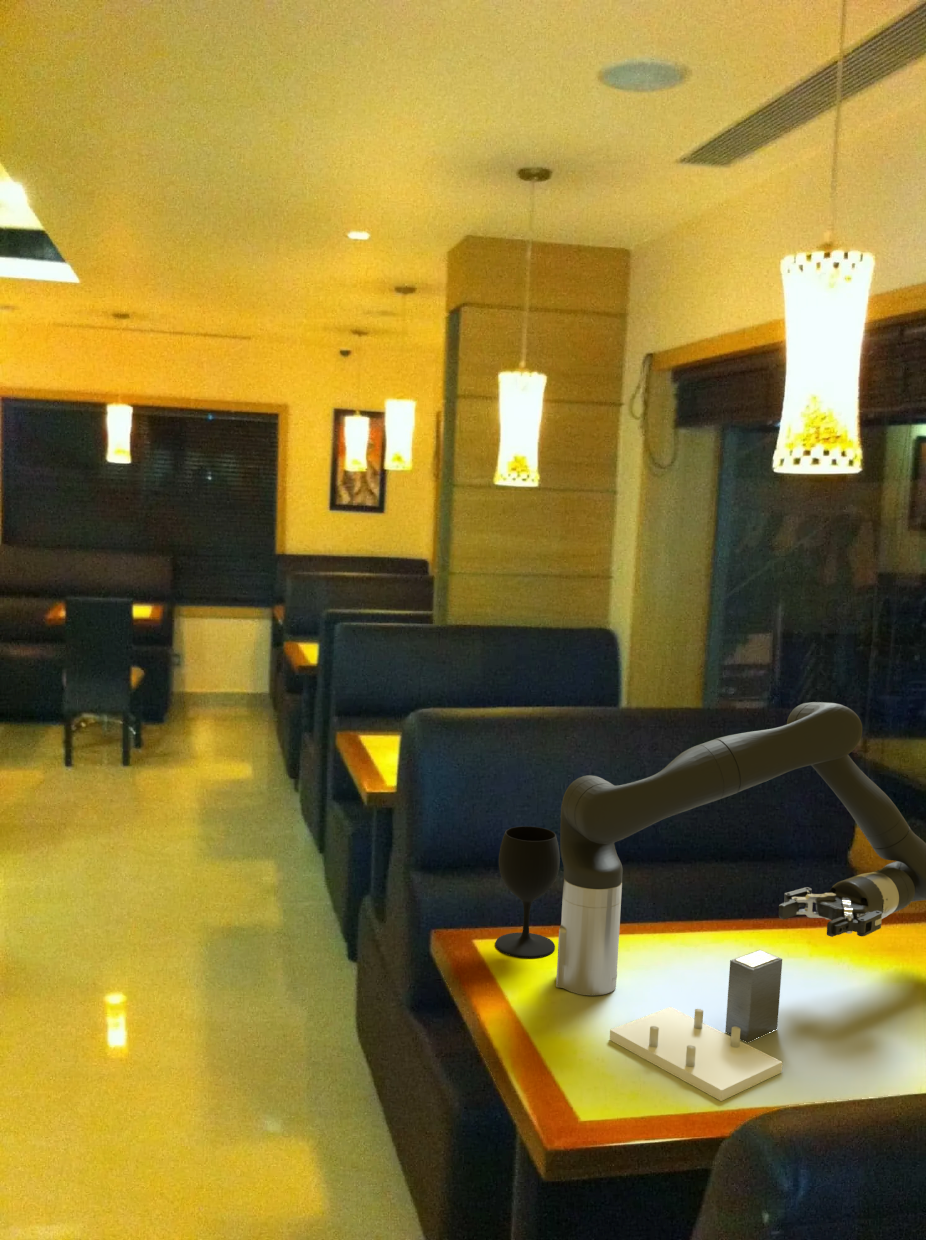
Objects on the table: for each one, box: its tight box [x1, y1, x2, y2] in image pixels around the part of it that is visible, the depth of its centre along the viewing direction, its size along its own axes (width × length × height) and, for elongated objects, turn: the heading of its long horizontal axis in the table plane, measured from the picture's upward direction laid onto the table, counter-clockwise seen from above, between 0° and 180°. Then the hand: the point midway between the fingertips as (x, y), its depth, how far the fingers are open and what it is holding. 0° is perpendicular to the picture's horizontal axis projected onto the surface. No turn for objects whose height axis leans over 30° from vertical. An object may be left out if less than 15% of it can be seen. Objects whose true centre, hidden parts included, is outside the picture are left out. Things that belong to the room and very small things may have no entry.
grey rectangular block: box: [724, 949, 783, 1044], centre depth 165 cm, size 4×7×11 cm, turn 129°
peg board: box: [609, 1006, 783, 1102], centre depth 157 cm, size 20×13×4 cm, turn 39°
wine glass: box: [495, 825, 561, 959], centre depth 192 cm, size 10×10×20 cm
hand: (804, 921), depth 171 cm, fingers open, 8 cm apart
